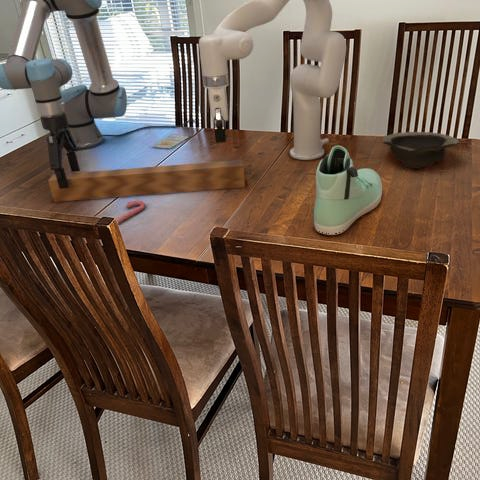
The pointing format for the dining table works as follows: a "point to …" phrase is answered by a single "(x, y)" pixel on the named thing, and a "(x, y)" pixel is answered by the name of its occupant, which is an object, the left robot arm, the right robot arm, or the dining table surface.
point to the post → (149, 180)
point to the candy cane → (132, 210)
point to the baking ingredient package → (170, 141)
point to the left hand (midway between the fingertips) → (70, 179)
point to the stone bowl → (419, 147)
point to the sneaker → (343, 192)
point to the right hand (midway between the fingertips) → (221, 136)
